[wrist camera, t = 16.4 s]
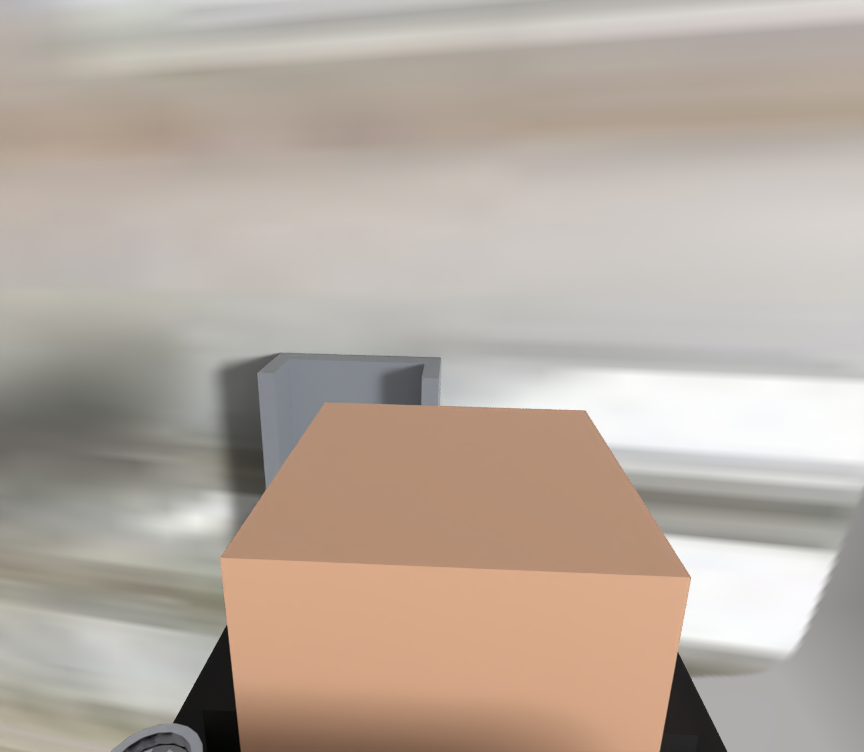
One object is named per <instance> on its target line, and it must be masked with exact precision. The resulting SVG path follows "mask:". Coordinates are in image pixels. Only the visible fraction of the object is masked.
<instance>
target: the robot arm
mask: <svg viewBox="0 0 864 752" xmlns="http://www.w3.org/2000/svg"><path fill="white" fill-rule="evenodd" d="M111 752H241V747H240V738H239V729H238V720H237V710H236V701H235V692H234V682H233V673H232V664H231V654H230V645H229V636H228V627H227V626H226V628H225V629H224V631H223V633H222V635H221V637H220V638H219V640H218V642H217V644H216V646H215V648H214V649H213V651H212V653H211V655H210V657H209V659H208V660H207V662H206V664H205V666H204V668H203V670H202V671H201V673H200V675H199V677H198V679H197V680H196V682H195V684H194V686H193V688H192V690H191V691H190V693H189V695H188V697H187V699H186V701H185V702H184V704H183V706H182V708H181V710H180V711H179V713H178V715H177V717H176V719H175V721H174V722H173V723H171V724H159V725H155V726H152V727H149V728H145V729H143V730H141V731H139V732H137V733H135V734H133V735H132V736H130V737H128V738H126V739H125V740H124V741H123V742H121V743H120V744H119V745H118V746H116V747H115V748H114V749H113V750H112V751H111ZM660 752H727V750H726V748H725V746H724V744H723V742H722V740H721V738H720V736H719V734H718V732H717V730H716V728H715V726H714V724H713V722H712V720H711V718H710V716H709V714H708V712H707V710H706V708H705V706H704V704H703V702H702V700H701V698H700V696H699V694H698V692H697V690H696V688H695V686H694V684H693V682H692V679H691V677H690V675H689V673H688V671H687V669H686V667H685V665H684V663H683V661H682V659H681V657H680V655H679V653H677V658H676V664H675V669H674V675H673V680H672V686H671V691H670V697H669V702H668V708H667V714H666V719H665V725H664V730H663V736H662V741H661V747H660Z"/></svg>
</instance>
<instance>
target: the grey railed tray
mask: <svg viewBox="0 0 864 752" xmlns="http://www.w3.org/2000/svg"><path fill="white" fill-rule="evenodd" d="M440 378H441V358H433V357H400V356H366V355H333V354H300V353H280V354H279V355H278V356H276V357H275V358H274V359H273V360H272V361H271V362H269V363H268V364H267V365H266V366H265V367H263V368H262V369H261V370H260V371H259V372H257V380H258V393H259V406H260V419H261V431H262V444H263V457H264V470H265V483H266V489H267V488H268V486H269V485H270V483H271V482H272V480H273V479H274V477H275V476H276V474H277V473H278V471H279V470H280V468H281V467H282V465H283V464H284V462H285V461H286V459H287V458H288V457H289V455H290V454H291V452H292V451H293V449H294V448H295V446H296V445H297V443H298V442H299V440H300V439H301V437H302V436H303V434H304V433H305V431H306V430H307V428H308V427H309V425H310V424H311V422H312V421H313V419H314V418H315V417H316V415H317V414H318V412H319V411H320V409H321V408H322V406H323V405H324V403H325V402H330V403H361V404H393V405H424V406H440Z"/></svg>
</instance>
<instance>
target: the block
mask: <svg viewBox="0 0 864 752" xmlns="http://www.w3.org/2000/svg"><path fill="white" fill-rule="evenodd" d="M220 561H221V571H222V580H223V589H224V599H225V608H226V617H227V627H228V636H229V645H230V654H231V664H232V673H233V682H234V692H235V701H236V710H237V720H238V729H239V738H240V747H241V752H660V747H661V741H662V736H663V730H664V725H665V719H666V714H667V708H668V702H669V697H670V691H671V686H672V680H673V675H674V669H675V664H676V658H677V653H678V647H679V642H680V636H681V630H682V625H683V619H684V614H685V608H686V603H687V597H688V592H689V586H690V581H691V577H690V575H689V574H688V572H687V570H686V569H685V567H684V566H683V564H682V563H681V561H680V559H679V558H678V556H677V555H676V553H675V551H674V550H673V548H672V547H671V545H670V544H669V542H668V540H667V539H666V537H665V536H664V534H663V532H662V531H661V529H660V528H659V526H658V525H657V523H656V521H655V520H654V518H653V517H652V515H651V514H650V512H649V510H648V509H647V507H646V506H645V504H644V502H643V501H642V499H641V498H640V496H639V495H638V493H637V491H636V490H635V488H634V487H633V485H632V483H631V482H630V480H629V479H628V477H627V476H626V474H625V472H624V471H623V469H622V468H621V466H620V465H619V463H618V461H617V460H616V458H615V457H614V455H613V453H612V452H611V450H610V449H609V447H608V446H607V444H606V442H605V441H604V439H603V438H602V436H601V434H600V433H599V431H598V430H597V428H596V427H595V425H594V423H593V422H592V420H591V419H590V417H589V416H588V414H587V412H586V411H582V410H551V409H519V408H488V407H456V406H424V405H393V404H361V403H330V402H325V403H324V405H323V406H322V408H321V409H320V411H319V412H318V414H317V415H316V417H315V418H314V419H313V421H312V422H311V424H310V425H309V427H308V428H307V430H306V431H305V433H304V434H303V436H302V437H301V439H300V440H299V442H298V443H297V445H296V446H295V448H294V449H293V451H292V452H291V454H290V455H289V457H288V458H287V459H286V461H285V462H284V464H283V465H282V467H281V468H280V470H279V471H278V473H277V474H276V476H275V477H274V479H273V480H272V482H271V483H270V485H269V486H268V488H267V489H266V491H265V492H264V494H263V495H262V497H261V498H260V499H259V501H258V502H257V504H256V505H255V507H254V508H253V510H252V511H251V513H250V514H249V516H248V517H247V519H246V520H245V522H244V523H243V525H242V526H241V528H240V529H239V531H238V532H237V534H236V535H235V537H234V538H233V539H232V541H231V542H230V544H229V545H228V547H227V548H226V550H225V551H224V553H223V554H222V556H221V557H220Z"/></svg>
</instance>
